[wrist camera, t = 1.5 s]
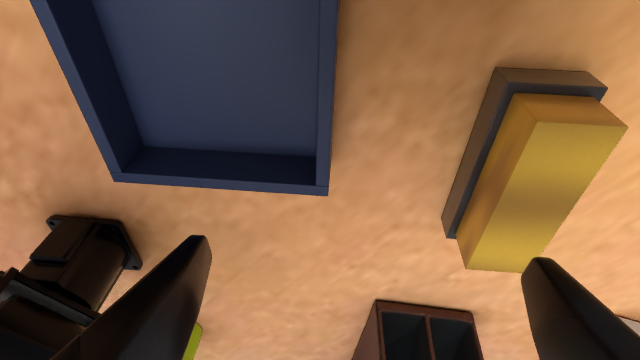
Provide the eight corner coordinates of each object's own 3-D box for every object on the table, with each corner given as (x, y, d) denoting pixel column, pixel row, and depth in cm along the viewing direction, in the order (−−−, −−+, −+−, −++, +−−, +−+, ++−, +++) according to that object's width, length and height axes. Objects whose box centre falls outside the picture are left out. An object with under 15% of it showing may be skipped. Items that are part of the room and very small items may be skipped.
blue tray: (330, 162, 24) (327, 196, 21) (140, 150, 25) (113, 182, 22) (354, -263, 12) (354, -306, 9) (-18, -267, 13) (-118, -310, 10)
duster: (506, 223, 26) (532, 279, 23) (440, 218, 27) (455, 273, 23) (588, 71, 19) (649, 117, 15) (494, 66, 19) (530, 110, 15)
